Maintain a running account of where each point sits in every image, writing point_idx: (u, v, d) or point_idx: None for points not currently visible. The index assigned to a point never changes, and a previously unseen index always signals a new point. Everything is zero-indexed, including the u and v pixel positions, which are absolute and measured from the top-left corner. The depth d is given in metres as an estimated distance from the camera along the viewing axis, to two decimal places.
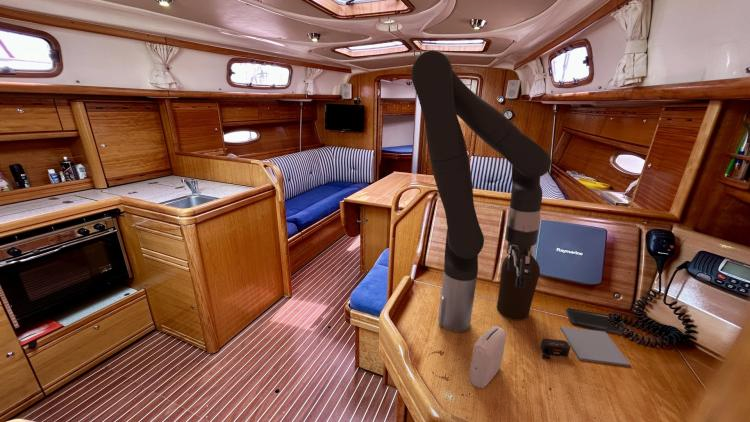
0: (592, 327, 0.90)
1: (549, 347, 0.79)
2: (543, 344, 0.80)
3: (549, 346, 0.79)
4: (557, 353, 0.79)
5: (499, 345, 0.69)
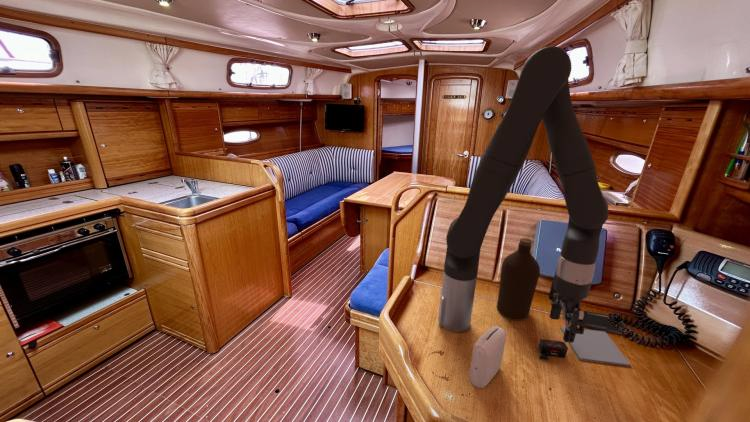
0: (592, 327, 0.90)
1: (546, 347, 0.79)
2: (541, 345, 0.80)
3: (547, 347, 0.79)
4: (555, 354, 0.79)
5: (499, 345, 0.69)
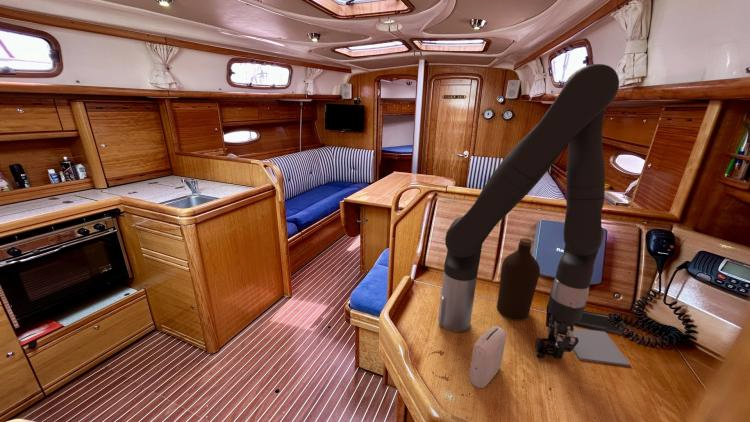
0: (592, 327, 0.90)
1: (543, 346, 0.79)
2: (538, 344, 0.80)
3: (544, 345, 0.79)
4: (552, 352, 0.79)
5: (499, 345, 0.69)
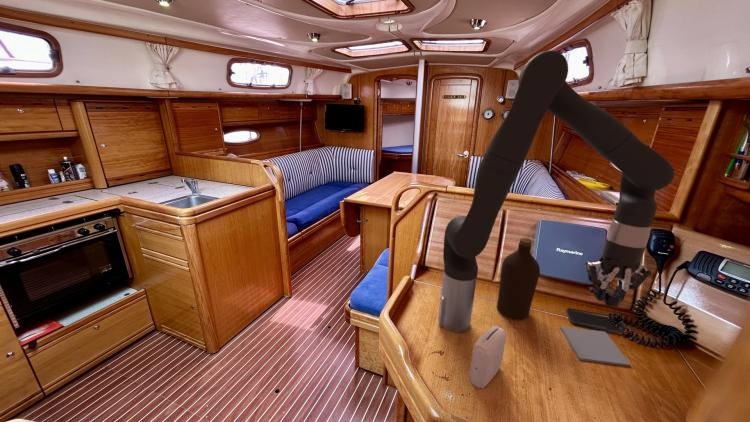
0: (592, 327, 0.90)
1: None
2: None
3: None
4: None
5: (499, 345, 0.69)
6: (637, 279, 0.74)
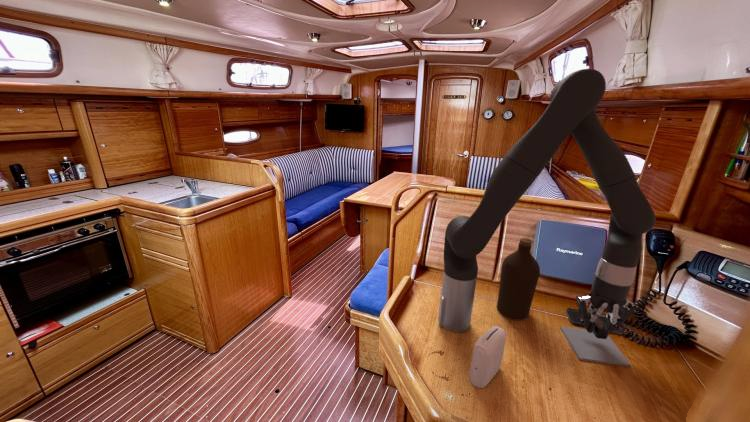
0: None
1: None
2: None
3: None
4: None
5: (499, 345, 0.69)
6: (624, 313, 0.78)
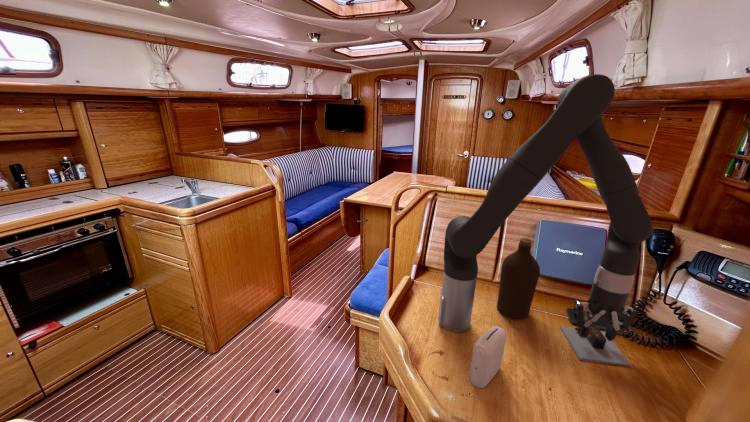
0: None
1: None
2: None
3: None
4: (588, 337, 0.84)
5: (499, 345, 0.69)
6: (626, 319, 0.78)
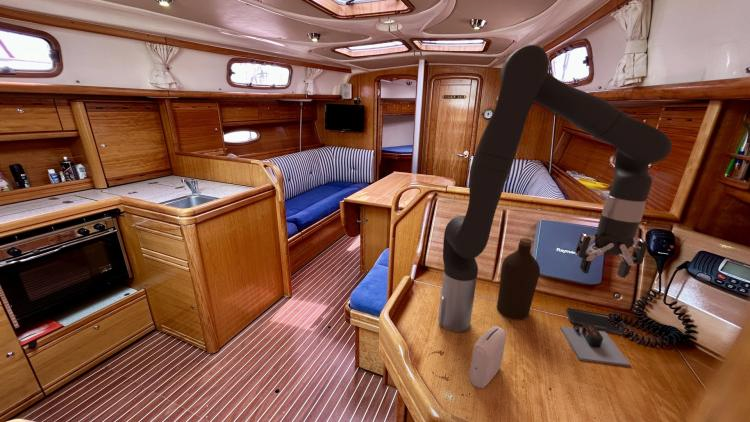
0: None
1: (584, 325, 0.86)
2: None
3: (584, 325, 0.86)
4: (586, 336, 0.84)
5: (499, 345, 0.69)
6: (638, 253, 0.74)
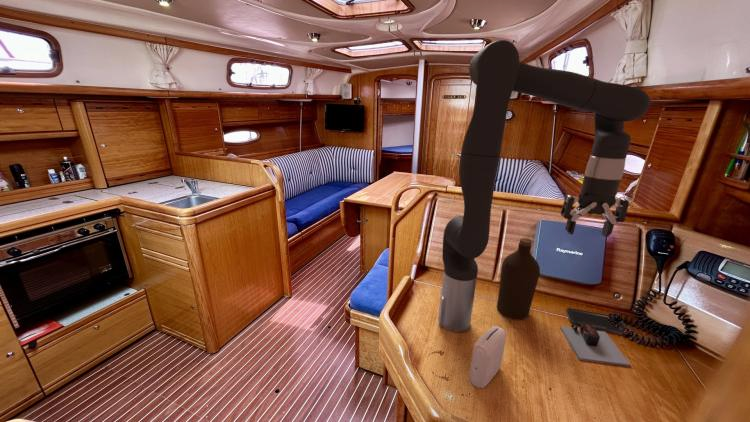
0: None
1: (582, 324, 0.86)
2: None
3: (582, 324, 0.86)
4: (583, 334, 0.85)
5: (499, 345, 0.69)
6: (620, 211, 0.76)
